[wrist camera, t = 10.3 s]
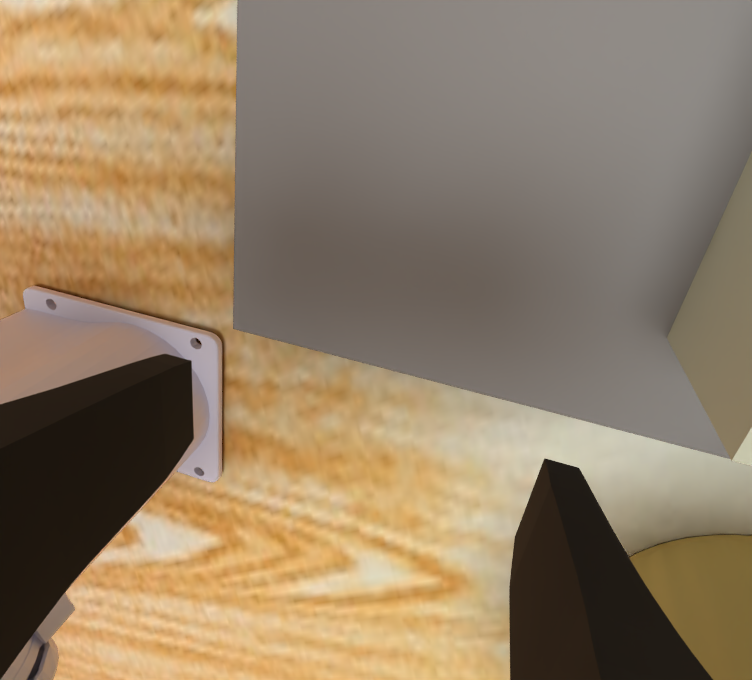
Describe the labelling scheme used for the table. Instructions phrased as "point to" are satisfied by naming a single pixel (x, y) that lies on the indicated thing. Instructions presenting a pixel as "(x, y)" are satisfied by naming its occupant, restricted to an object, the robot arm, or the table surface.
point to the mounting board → (492, 191)
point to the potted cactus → (706, 598)
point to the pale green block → (723, 326)
